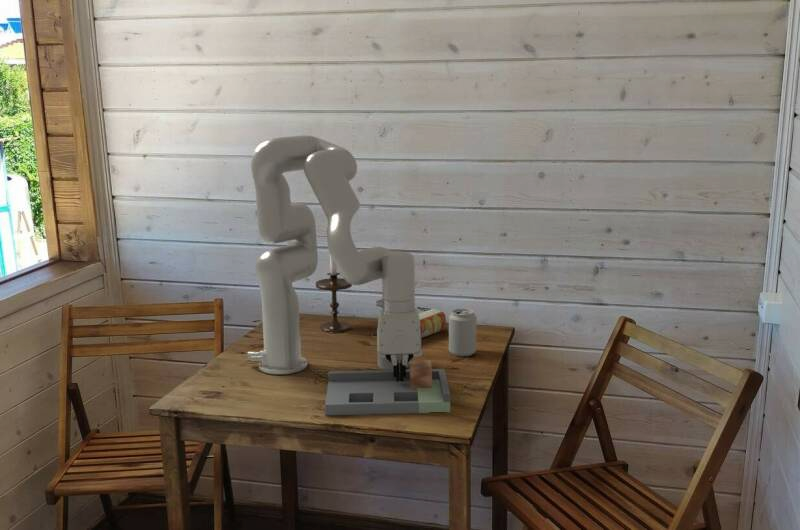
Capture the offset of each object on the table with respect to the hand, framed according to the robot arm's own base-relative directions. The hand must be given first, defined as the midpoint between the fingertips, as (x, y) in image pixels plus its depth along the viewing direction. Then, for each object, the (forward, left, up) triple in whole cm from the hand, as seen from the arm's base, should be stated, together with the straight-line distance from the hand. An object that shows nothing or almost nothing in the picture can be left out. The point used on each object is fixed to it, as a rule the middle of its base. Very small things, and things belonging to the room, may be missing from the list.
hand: (399, 379), depth 192 cm
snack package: (+6, +44, -4) cm, 44 cm away
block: (+5, 0, -1) cm, 5 cm away
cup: (-1, +21, -4) cm, 22 cm away
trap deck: (-3, -3, -4) cm, 6 cm away
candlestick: (-18, +54, -4) cm, 57 cm away
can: (+18, +29, -4) cm, 34 cm away
